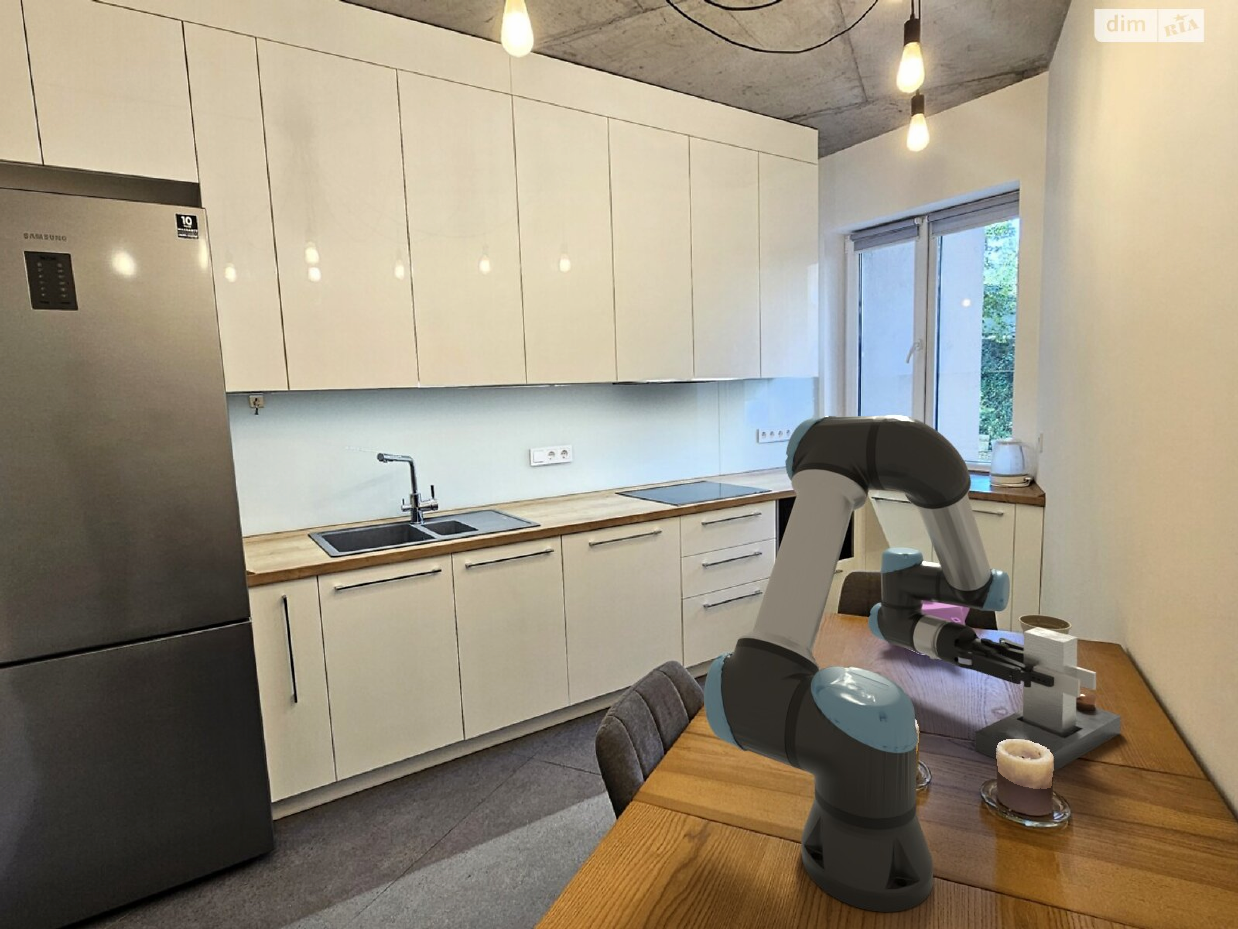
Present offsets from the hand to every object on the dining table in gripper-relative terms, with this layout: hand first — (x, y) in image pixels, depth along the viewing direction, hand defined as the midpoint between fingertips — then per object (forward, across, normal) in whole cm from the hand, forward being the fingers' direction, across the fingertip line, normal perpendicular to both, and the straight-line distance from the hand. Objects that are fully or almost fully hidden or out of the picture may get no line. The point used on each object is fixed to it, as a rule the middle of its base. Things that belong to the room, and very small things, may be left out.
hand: (1086, 684), depth 100 cm
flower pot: (-23, -33, -11) cm, 41 cm away
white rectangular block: (-5, 0, -10) cm, 11 cm away
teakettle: (-43, -22, -12) cm, 49 cm away
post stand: (-5, 0, -12) cm, 13 cm away
